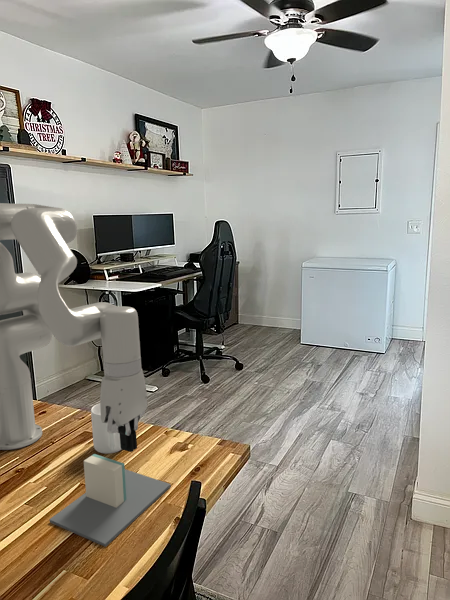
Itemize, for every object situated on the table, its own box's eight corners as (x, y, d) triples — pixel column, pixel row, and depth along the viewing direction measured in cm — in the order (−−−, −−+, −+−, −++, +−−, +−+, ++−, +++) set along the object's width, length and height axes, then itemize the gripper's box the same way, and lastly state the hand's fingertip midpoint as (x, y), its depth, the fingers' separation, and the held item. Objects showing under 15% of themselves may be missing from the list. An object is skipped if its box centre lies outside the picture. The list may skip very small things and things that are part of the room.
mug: (130, 459, 108) (128, 418, 106) (94, 465, 106) (92, 424, 104) (125, 435, 120) (123, 399, 118) (93, 440, 117) (90, 403, 115)
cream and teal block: (86, 496, 93) (83, 460, 92) (96, 488, 96) (94, 453, 94) (116, 507, 90) (114, 470, 88) (126, 499, 92) (124, 463, 91)
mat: (49, 522, 87) (49, 519, 87) (120, 469, 104) (119, 467, 104) (105, 546, 80) (105, 543, 80) (170, 486, 97) (170, 484, 97)
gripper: (131, 354, 102) (137, 430, 105) (82, 376, 89) (90, 462, 92) (159, 358, 98) (164, 437, 102) (111, 381, 86) (119, 470, 89)
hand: (129, 448), depth 97 cm, fingers closed
